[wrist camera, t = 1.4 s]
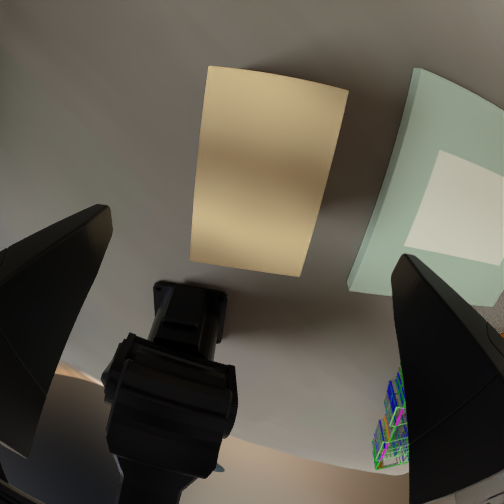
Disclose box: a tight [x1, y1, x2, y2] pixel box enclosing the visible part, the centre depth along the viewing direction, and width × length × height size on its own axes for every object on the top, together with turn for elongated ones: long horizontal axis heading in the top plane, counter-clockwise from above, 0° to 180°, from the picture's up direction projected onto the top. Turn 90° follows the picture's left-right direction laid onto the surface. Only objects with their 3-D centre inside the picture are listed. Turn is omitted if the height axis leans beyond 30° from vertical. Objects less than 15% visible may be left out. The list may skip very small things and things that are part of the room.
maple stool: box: [190, 66, 349, 277], centre depth 17 cm, size 10×6×7 cm, turn 171°
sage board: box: [347, 68, 504, 307], centre depth 21 cm, size 18×18×1 cm
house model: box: [372, 333, 504, 470], centre depth 37 cm, size 35×30×5 cm
